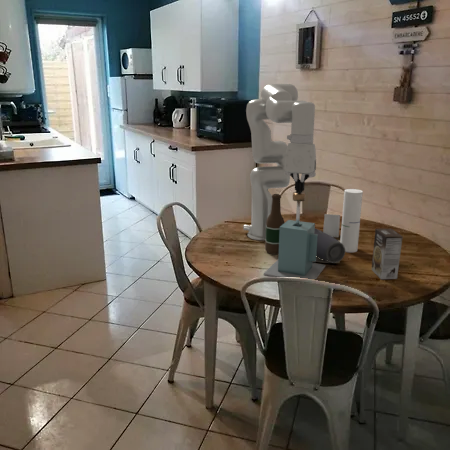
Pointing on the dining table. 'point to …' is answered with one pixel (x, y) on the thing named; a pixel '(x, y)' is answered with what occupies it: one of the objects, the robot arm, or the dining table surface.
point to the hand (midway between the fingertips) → (299, 192)
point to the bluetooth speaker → (329, 247)
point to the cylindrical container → (351, 219)
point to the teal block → (296, 252)
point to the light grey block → (331, 225)
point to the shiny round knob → (298, 204)
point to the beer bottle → (273, 226)
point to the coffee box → (386, 253)
